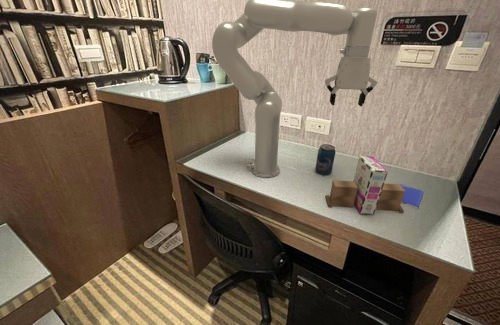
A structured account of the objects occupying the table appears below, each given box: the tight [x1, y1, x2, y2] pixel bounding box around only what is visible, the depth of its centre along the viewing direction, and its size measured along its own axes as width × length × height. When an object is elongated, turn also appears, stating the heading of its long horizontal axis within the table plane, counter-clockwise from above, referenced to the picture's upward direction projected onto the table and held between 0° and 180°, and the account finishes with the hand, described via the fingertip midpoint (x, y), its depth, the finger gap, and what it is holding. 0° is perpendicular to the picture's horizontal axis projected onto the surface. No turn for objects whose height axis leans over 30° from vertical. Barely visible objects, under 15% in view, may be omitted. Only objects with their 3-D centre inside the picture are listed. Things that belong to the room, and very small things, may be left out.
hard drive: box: [399, 183, 424, 210], centre depth 88 cm, size 2×8×12 cm
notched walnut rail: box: [325, 179, 405, 214], centre depth 81 cm, size 24×6×8 cm, turn 84°
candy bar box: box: [353, 155, 389, 216], centre depth 80 cm, size 11×5×16 cm, turn 177°
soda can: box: [315, 143, 336, 176], centre depth 101 cm, size 7×7×12 cm
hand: (346, 105), depth 86 cm, fingers open, 9 cm apart
